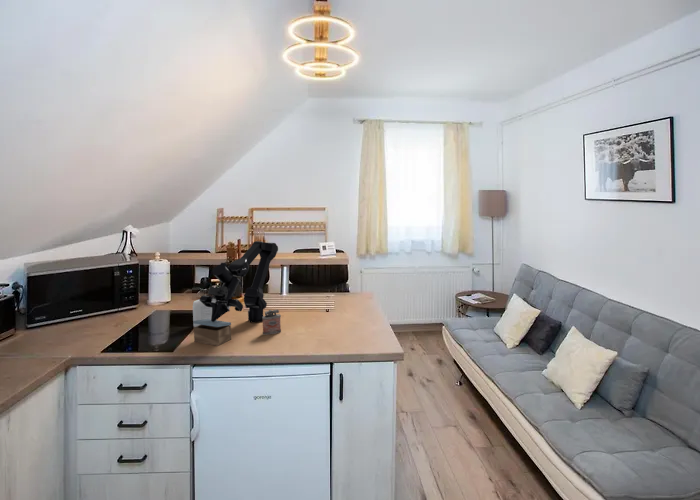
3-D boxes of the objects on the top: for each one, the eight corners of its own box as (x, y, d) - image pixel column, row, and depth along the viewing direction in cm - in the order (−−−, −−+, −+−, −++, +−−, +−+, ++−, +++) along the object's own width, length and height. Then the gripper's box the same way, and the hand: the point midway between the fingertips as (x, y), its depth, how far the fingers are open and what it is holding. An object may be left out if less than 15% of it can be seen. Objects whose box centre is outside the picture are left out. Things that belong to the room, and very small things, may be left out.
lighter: (263, 335, 179) (263, 312, 178) (261, 333, 182) (261, 310, 181) (282, 332, 183) (281, 309, 182) (279, 330, 186) (279, 308, 185)
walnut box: (208, 335, 179) (207, 322, 178) (231, 339, 174) (230, 325, 174) (194, 341, 172) (193, 327, 171) (217, 345, 167) (217, 331, 166)
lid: (207, 321, 178) (207, 319, 178) (231, 324, 174) (231, 322, 174) (193, 323, 171) (193, 320, 171) (217, 327, 166) (217, 324, 166)
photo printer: (215, 321, 198) (214, 296, 197) (217, 324, 195) (216, 298, 193) (192, 325, 193) (191, 299, 191) (194, 328, 189) (193, 301, 188)
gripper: (200, 276, 178) (183, 309, 170) (237, 280, 171) (220, 314, 162) (214, 290, 186) (198, 322, 178) (250, 294, 179) (234, 327, 171)
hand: (212, 321), depth 172 cm, fingers closed, pressing on lid
